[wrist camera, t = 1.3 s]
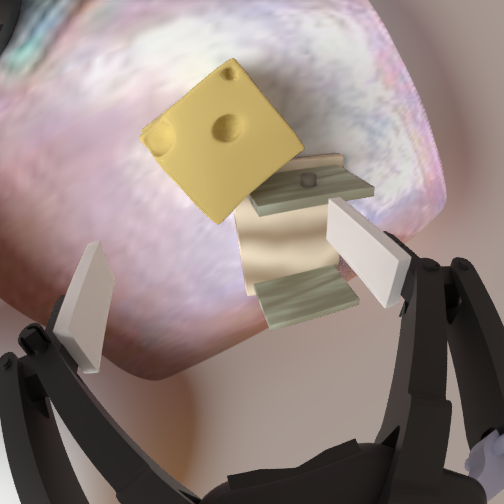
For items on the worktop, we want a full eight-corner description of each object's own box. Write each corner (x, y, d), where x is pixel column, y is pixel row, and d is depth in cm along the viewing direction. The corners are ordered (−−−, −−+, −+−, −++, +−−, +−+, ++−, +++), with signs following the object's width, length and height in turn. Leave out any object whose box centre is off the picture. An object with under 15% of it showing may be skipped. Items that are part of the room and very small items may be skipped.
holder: (227, 168, 31) (245, 198, 24) (337, 153, 33) (382, 176, 26) (245, 289, 41) (262, 338, 34) (333, 267, 43) (363, 307, 35)
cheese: (143, 128, 27) (127, 144, 18) (220, 62, 25) (238, 48, 17) (206, 191, 32) (217, 230, 24) (278, 131, 30) (315, 149, 22)
